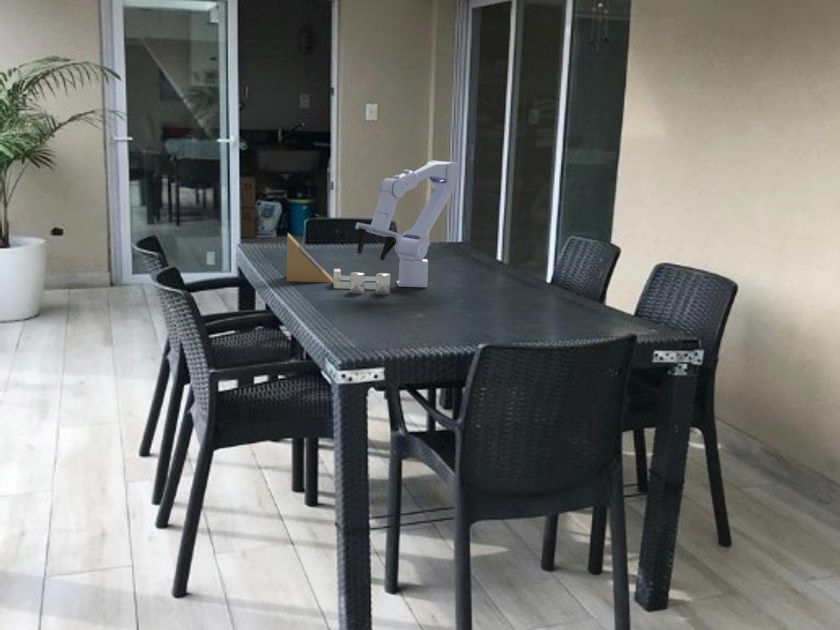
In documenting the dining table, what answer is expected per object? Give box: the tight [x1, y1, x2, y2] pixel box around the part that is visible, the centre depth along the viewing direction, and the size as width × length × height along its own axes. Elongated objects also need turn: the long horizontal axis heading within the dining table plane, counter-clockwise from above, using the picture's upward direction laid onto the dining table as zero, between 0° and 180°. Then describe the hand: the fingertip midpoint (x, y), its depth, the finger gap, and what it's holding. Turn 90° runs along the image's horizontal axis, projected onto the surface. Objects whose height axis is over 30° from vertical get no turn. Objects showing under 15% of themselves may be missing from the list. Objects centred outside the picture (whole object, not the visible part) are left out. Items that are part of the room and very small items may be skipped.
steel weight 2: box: [375, 272, 391, 296], centre depth 273 cm, size 4×4×6 cm
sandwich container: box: [286, 232, 334, 283], centre depth 288 cm, size 9×15×15 cm, turn 98°
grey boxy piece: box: [332, 268, 376, 290], centre depth 281 cm, size 14×9×5 cm, turn 97°
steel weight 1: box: [349, 271, 365, 295], centre depth 272 cm, size 4×4×6 cm
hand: (370, 256), depth 272 cm, fingers open, 7 cm apart
